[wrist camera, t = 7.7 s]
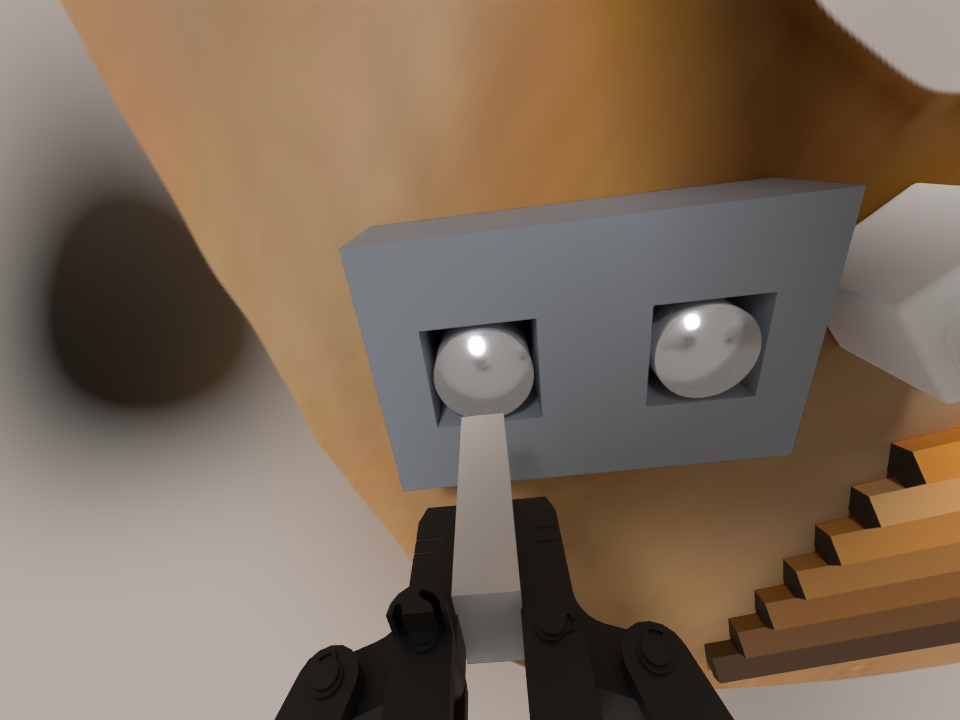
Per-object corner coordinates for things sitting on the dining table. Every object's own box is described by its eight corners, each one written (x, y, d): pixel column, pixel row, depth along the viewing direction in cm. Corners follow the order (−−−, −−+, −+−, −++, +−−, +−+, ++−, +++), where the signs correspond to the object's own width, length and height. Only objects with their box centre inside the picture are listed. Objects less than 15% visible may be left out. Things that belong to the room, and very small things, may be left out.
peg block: (370, 226, 23) (339, 249, 18) (773, 177, 22) (866, 185, 17) (416, 429, 30) (403, 491, 24) (732, 398, 29) (791, 455, 23)
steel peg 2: (625, 281, 24) (660, 311, 19) (715, 271, 24) (771, 299, 19) (622, 359, 26) (652, 402, 22) (704, 350, 26) (751, 392, 21)
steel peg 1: (434, 303, 24) (425, 337, 20) (520, 293, 24) (530, 325, 20) (447, 377, 26) (442, 423, 22) (526, 369, 26) (536, 414, 22)
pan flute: (704, 655, 43) (969, 607, 40) (721, 692, 40) (1009, 644, 37) (679, 482, 33) (1039, 397, 29) (700, 516, 30) (1103, 425, 26)
